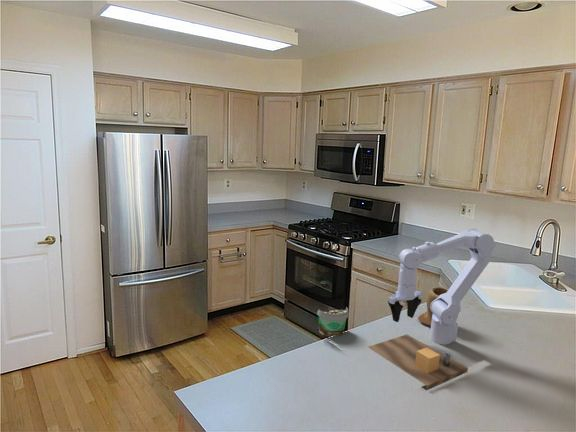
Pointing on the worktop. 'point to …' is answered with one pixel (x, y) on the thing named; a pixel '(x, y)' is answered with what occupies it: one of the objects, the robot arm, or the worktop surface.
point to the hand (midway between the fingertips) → (403, 318)
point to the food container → (332, 322)
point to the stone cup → (432, 295)
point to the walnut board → (404, 357)
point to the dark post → (446, 359)
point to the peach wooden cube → (427, 360)
